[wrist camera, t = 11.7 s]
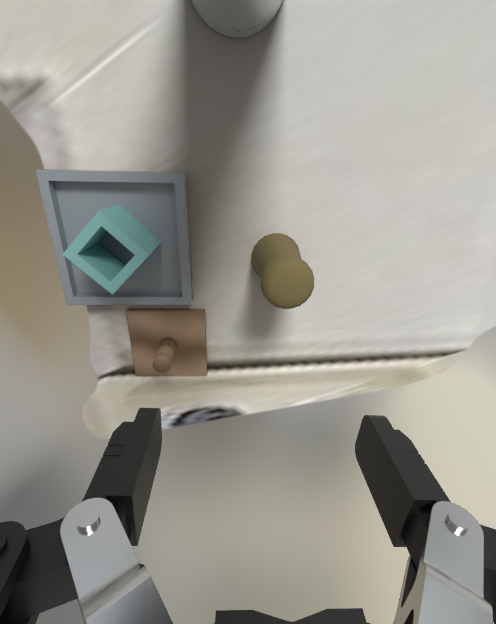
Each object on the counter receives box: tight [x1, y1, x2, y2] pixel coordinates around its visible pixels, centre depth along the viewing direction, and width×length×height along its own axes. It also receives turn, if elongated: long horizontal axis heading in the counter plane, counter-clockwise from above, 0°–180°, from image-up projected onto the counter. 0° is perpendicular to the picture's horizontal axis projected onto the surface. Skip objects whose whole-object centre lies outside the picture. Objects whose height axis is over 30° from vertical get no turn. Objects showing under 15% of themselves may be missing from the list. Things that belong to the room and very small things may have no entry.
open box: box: [62, 204, 161, 295], centre depth 35 cm, size 8×6×6 cm
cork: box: [252, 233, 314, 309], centre depth 35 cm, size 6×6×11 cm
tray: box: [36, 170, 193, 305], centre depth 37 cm, size 15×15×2 cm
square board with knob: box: [126, 309, 207, 376], centre depth 42 cm, size 10×10×6 cm
